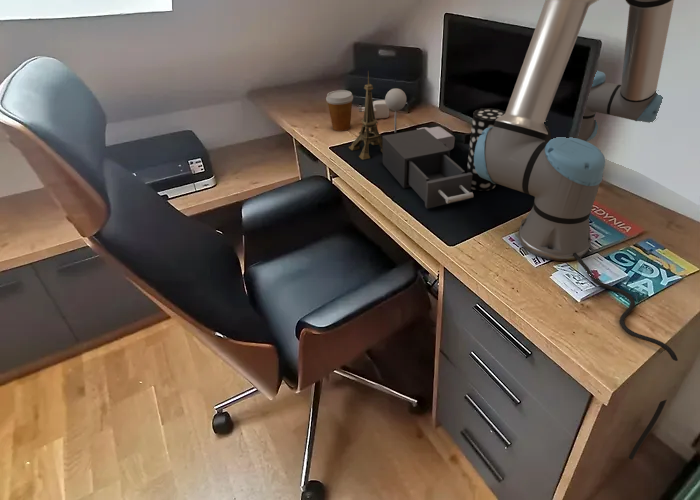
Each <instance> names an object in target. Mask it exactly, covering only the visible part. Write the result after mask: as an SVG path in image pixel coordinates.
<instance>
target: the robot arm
mask: <svg viewBox="0 0 700 500" xmlns="http://www.w3.org/2000/svg"><path fill="white" fill-rule="evenodd" d="M597 2H599V0H544V2H543V5H542V9H541V12H540V14H539V17H538V20H537V23H536V25H535V28H534V31H533V34H532V37H531V40H530V42H529V46H528V48H527V50H526V53H525V57H524V59H523V63H522V65H521V67H520V71H519V73H518V75H517V79H516V82H515V84H514V88H513V90H512V93H511V96H510V98H509V101H508V104H507V107H506V110H505V112H506V113H505V114H504V115H502V116H501V117H499V118H497V119H496V120H495V123H494V126H493V127H488V128H486V129H485V130H484V131H483V132H482V135H480V136H479V138H478V141H477V143H476V147H475V152H474V165H475V170H476V172H477V174H478V175H479V176H480V177H481V178H484V179H486V180H489V181H491V182H492V183H494V184H496V185H499V186H502V187H505V188H509V189H511V190H514V191H517V192H521V193H523V194H526V195H529V196H533V197H534V200H533V205H532V208H531V209H530V211H529V212H528V214H527V215H526V217H525V218H522V219H521V220H520V226H519V229H518V234H517V239H518V242H519V244H520V245H521V246H522V247H523V249H525V250H526V251H528V252H529V253H531V254H533V255H534V256H537V257H539V258H542V259H545V260H550V261H556V262H557V261H558V262H571V261H576V262H578V263H579V264H580V266H581V267H582V268H583V269H584V271H585V272H586V271H587V272H586V274H587V276H588V277H589V278H590V279H591V281H593V282H594V283H595V284H597V285H598V286H600V288H601V287H602V288H604V289H606V290H609V291H611V292H614V293H618V294H620V295H623V296H624V297H626V298H627V300H628V301H629V307H628V308H627V309H626V310H624V312H623V313H622V314H621V315H620V317H619V326H620V327H621V329H622V330H623V331H624V332H625V333H627V334H628V335H630V336H631V337H634V338H636V339H638V340H642V341H645V342H648V343H651V344H654V345H656V346H659V347H660V348H662V349H663V350H665V351H666V352H667V354H669V356H670V358H671V360H673V361H675V362H678V361H679V359H678V357H677V355H676V353H675V352H674V350H673V349H672V348H671V347H670V346H669V345H668V344H666V343H664V342H663V341H661V340H658V339H657V338H653V337H650V336H647V335H644V334H640V333H638V332H635V331H634V330H632V329H630V328H629V327H628V326H627V325H626V323H625V321H626V318H627V317H628V315H630V314H631V313H632V312H633V310H634V308H636V301H635V299H634V297H633V296H632V295H631V294H630V292H627V291H625V290H623V289H621V288H618V287H615V286H613V285H610V284H607V283H604V282H602V281H601V280H599V279H598V278H597V277H596V276H595V275H594V273H593V272H592V271H591V269H590V268H589V267H588V265H587V264H586V263H585V262H584V261H583V259H582V258H583V257H584V256H585V255H587V254H588V252H589V249H590V247H591V244H592V243H591V242H592V238H591V227H590V226H591V225H590V216H591V212H592V211H593V207H594V203H595V201H596V198H597V194H598V192H599V188H600V185H601V183H602V181H603V177H604V171H605V167H606V157H605V155H604V153H603V152H602V151H601V149H599V147H598V146H596V145H595V144H593V143H591V142H590V141H592V140H594V139H595V138H594V137H595V136H596V134H597V130H598V125H597V122H596V120H594V117H595V115H596V113H599V114H603V115H608V116H612V117H618V118H621V119H625V120H631V121H635V122H641V121H642V122H643V123H648V124H651V123H650V122H652V123H654V122H655V121H656V120H657V119H656V116H657V113H658V111H659V108H660V105H661V103H662V99H663V97H662V96H661V95H658V94H657V93H656V91H657V90H658V85H659V79H660V74H661V68H662V63H663V59H664V53H665V49H666V48H665V47H666V43H667V38H668V34H669V33H668V32H669V28H670V23H671V17H672V14H673V13H672V12H673V8H674V7H673V6H674V3H675V0H625V2H626V3H627V5H628V6H629V7H628V8H629V9H628V18H627V25H626V26H627V27H626V37H625V46H624V55H623V63H622V64H623V65H622V74H621V83H620V84H618V83H613V82H606V79H607V78H606V77H607V75H606V73H605V72H603V71H600V70H597V72H596V74H595V77H594V80H593V84H592V87H591V90H590V93H589V96H588V100H587V104H586V109H585V113H584V116H583V120H582V124H581V128H580V132H579V136H578V138H573V137H569V138H566V137H556V138H553V139H551V132H550V130H549V128H548V126H546V125H545V124H544V122H546V121H547V117H548V115H549V113H550V112H549V111H550V109H551V107H552V104H553V101H554V99H555V96H556V94H557V91H558V89H559V87H560V86H559V85H560V83H561V80H562V79H563V76H564V72H565V70H566V68H567V65H568V62H569V60H570V57H571V54H572V52H573V49H574V47H575V44H576V42H577V39H578V36H579V33H580V31H581V28H582V26H583V24H584V20H585V17H586V15H587V13H588V10H589V7H591V6H592V5H593V4H595V3H597ZM655 119H656V120H655ZM654 120H655V121H654ZM653 121H654V122H653ZM593 138H594V139H593ZM470 139H471V132H467V133H464V134H463V139H462V140H463V141H462V143H463V144H464V145H470ZM591 139H592V140H591ZM589 274H590V275H591V276H590V275H589ZM593 275H594V276H595V278H596V279H595V278H593V277H594V276H593ZM592 276H593V277H592ZM667 400H668V399H664V400H661V401H659V403H658V405H657V408H656V410H655V411H654V413H653V416H652V418H651V419H650V421H649V423H647V426H646V427H645V429H644V431H643V432H642V433H641V435H640V437H639V438H638V440H637V441H636V443H635V445H634V447H633V448H632V450H631V451H630V454H629V455H628V458H629V460H633V459H634V458H635V456H636V455H637V452H638V451H639V449H640V447H641V446H642V444H644V441H645V440H646V439H647V437H648V435H649V434H650V432H651V431H652V430H653V428H654V427H655V425H656V423H657V422H658V419H659V418H660V416H661V414H662V412H663V409H664V408H665V405H666V403H667Z"/></svg>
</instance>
